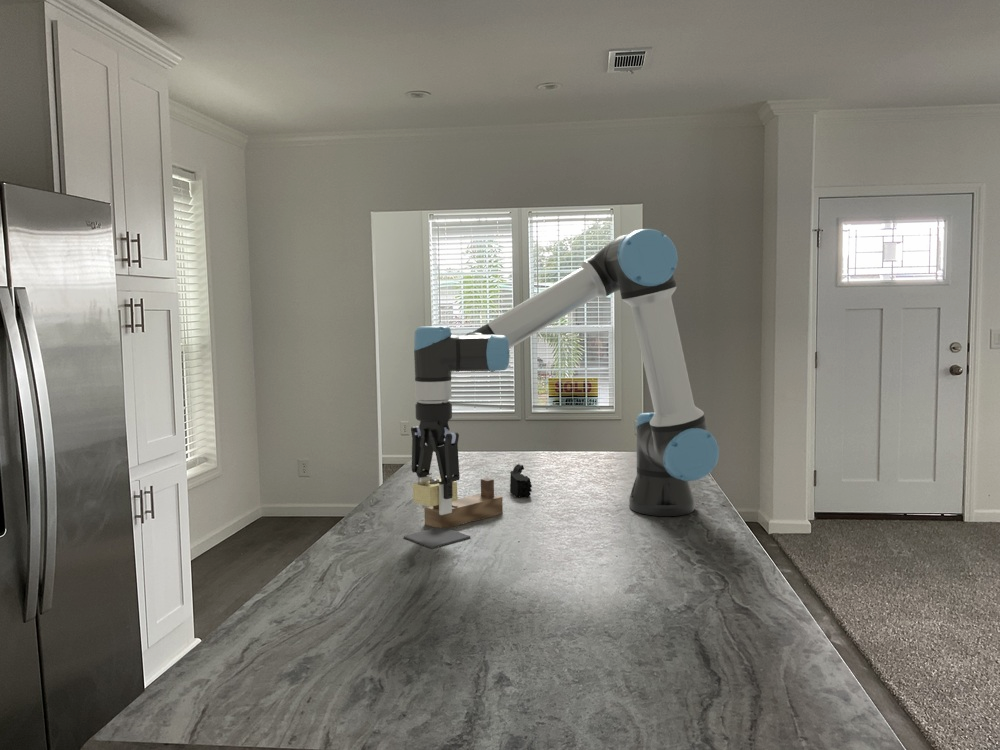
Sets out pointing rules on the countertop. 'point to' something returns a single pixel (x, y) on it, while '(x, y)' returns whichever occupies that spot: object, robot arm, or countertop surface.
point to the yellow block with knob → (430, 492)
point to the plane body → (467, 508)
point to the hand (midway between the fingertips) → (435, 510)
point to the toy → (519, 483)
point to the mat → (436, 537)
